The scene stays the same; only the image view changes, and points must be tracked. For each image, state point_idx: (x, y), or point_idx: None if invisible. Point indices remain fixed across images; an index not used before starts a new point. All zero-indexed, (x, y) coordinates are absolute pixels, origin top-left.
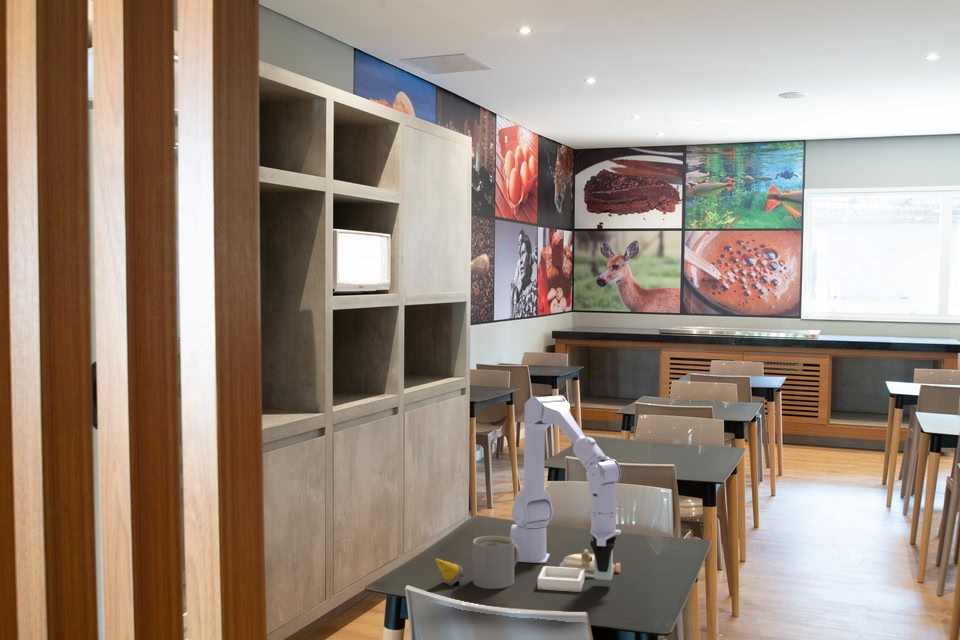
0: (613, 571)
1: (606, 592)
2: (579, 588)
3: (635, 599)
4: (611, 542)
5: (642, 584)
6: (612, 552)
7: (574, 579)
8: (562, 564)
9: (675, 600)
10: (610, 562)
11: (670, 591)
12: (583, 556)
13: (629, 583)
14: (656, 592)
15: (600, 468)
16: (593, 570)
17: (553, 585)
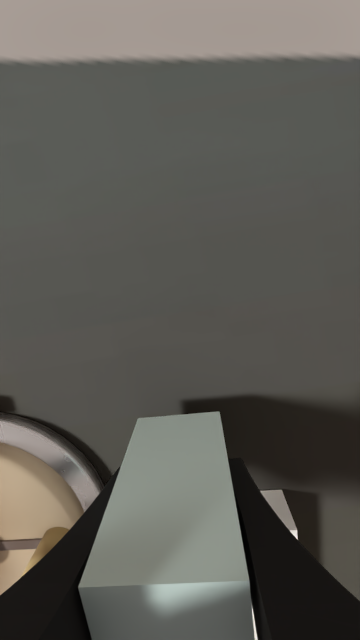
0: (4, 419)
1: (260, 401)
2: (285, 504)
3: (324, 273)
4: (57, 637)
5: (102, 277)
6: (125, 527)
7: None
8: None
9: (295, 72)
10: (232, 485)
11: (159, 124)
12: None
13: (110, 333)
14: (196, 193)
15: None
16: (71, 497)
17: None
